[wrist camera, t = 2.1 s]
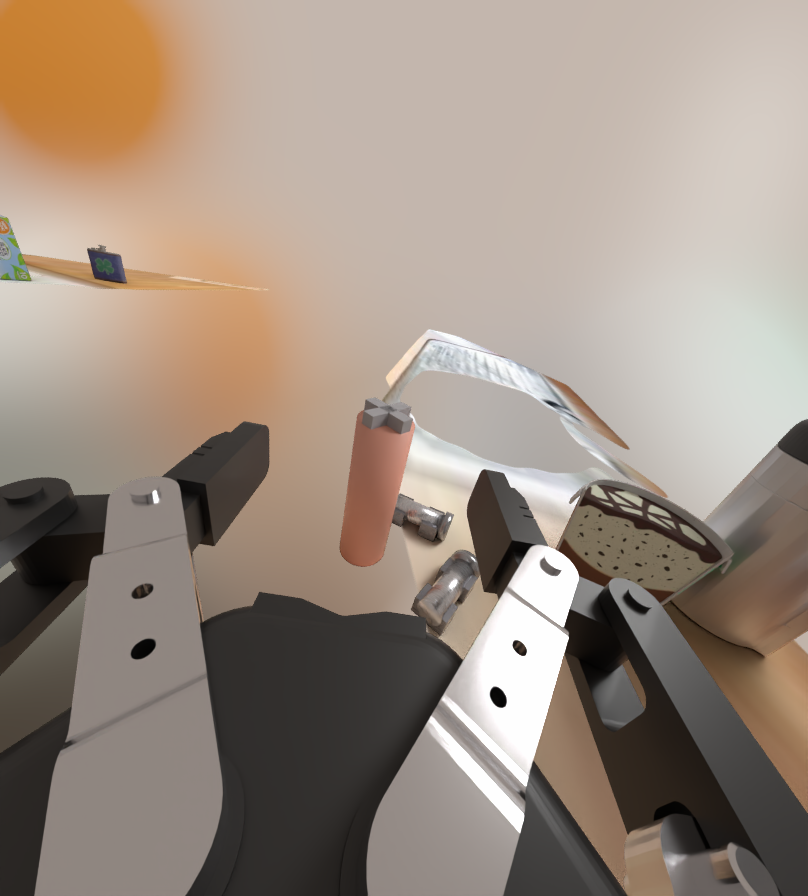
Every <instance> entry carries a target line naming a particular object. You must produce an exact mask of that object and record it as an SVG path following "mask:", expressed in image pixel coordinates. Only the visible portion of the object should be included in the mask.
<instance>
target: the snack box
mask: <svg viewBox="0 0 808 896" xmlns="http://www.w3.org/2000/svg"><path fill="white" fill-rule="evenodd" d="M0 279H9V280H27V281H31V278H30V275H29V272H28V270H27V267H26V264H25V262H24V259H23V257H22V254H21V252H20V249H19V246H18V243H17V241H16V238H15V236H14V233H13V230H12V228H11V225H10V223H9V220H8V218H7V217H4V216H1V215H0Z"/></svg>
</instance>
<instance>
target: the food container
mask: <svg viewBox="0 0 808 896" xmlns="http://www.w3.org/2000/svg"><path fill="white" fill-rule="evenodd" d="M579 496H580V498H579V500H578V502H577V504H576V507H575V509H574V511H573V513H572V515H571V517H570V519H569V521H568V524H567V526H566V528H565V530H564V532H563V534H562V536H561V539H560V541H559V543H558V545H557V547H556V549H555V550H557V551H558V552H560V553H561V554H563V555H564V556H565V557H566V558H567V559H568V560H570V562H571V563H572V564H573V565H574V567H575V569H576V571H577V573H578V576H580V577H582V578H584V579H587V580H589V581H591V582H594V583H596V584H598V585H601V586H603V587H605V586H606V585H607V584H608V583H609V582H610V581H611V580H612V579H614V578H623V579H627V580H629V581H632V582H634V583H636V584H638V585H639V586H641V587H642V588H644V589H645V590H647V591H648V592H649V593H650V594H651V595H652V596H653V597H655V598H656V600H657V601H658V602H659V603H660V604H661V606H663V605H664V604H666V603H667V602H669V601H670V600H671V599H673V598H674V597H676V596H677V595H679V594H680V593H681V592H683V591H684V590H686V589H687V588H688V587H690V586H691V585H693V584H694V583H696V582H697V581H698V580H700V579H701V578H703V577H704V576H706V575H707V574H708V573H710V572H711V571H713V570H714V569H715V568H717V567H718V568H719V570H720V572H721V573H723V574H724V573H725V572H726V570H727V568H728V567H729V565H730V564H731V562H732V560H731V557H732V556H733V555H734V553H733V551H732V550H731V548H730V547H729V546H728V545H727V543H726V542H725V541H724V540H723V539H722V538H721V537H720V536H719V535H718V534H717V533H716V532H715V531H713V530H712V529H711V528H710V527H709V526H707V525H706V524H705V523H704V522H702V521H701V520H700V519H698V518H697V517H695V516H694V515H692V514H691V513H689V512H688V511H686V510H685V509H683V508H681V507H680V506H678V505H676V504H675V503H673V502H671V501H669V500H667V499H665V498H663V497H661V496H659V495H657V494H655V493H653V492H650V491H648V490H646V489H643V488H640V487H638V486H635V485H632V484H628V483H625V482H620V481H616V480H610V479H597V480H593V481H591V482H589V483H588V484H586V485H584V486H583V487H582V488H581V489H580V490H579V491H578V492H577V493H576V494H575V495H573V497H572V498H571V499H570V502H569V503H570V504H571V503H572V502H573V501H574V500H575V499H576V498H577V497H579Z"/></svg>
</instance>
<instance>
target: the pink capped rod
mask: <svg viewBox="0 0 808 896" xmlns="http://www.w3.org/2000/svg"><path fill="white" fill-rule="evenodd" d="M410 410H411V407H410V406H408V405H406V404H404V403H402V402H401V403H396V404H392V405H388V404H386V403H384V402H382V401H381V400H379V399H377V398H371V399H366V401H365V409H364V410H363V411H361V412H360V413H359V414H358V416H357V421H356V429H355V436H354V444H353V452H352V459H351V466H350V473H349V481H348V489H347V496H346V503H345V511H344V518H343V526H342V534H341V541H340V552H341V555H342V557H343V558H344V559H345V560H346V561H348V562H349V563H351V564H353V565H356V566H361V567H365V566H371V565H373V564H375V563H377V562H378V561H379V560H381V558H382V557H383V555H384V551H385V547H386V543H387V539H388V535H389V531H390V527H391V523H392V519H393V515H394V510H395V506H396V502H397V498H398V494H399V490H400V486H401V482H402V478H403V474H404V470H405V466H406V461H407V457H408V453H409V449H410V445H411V441H412V437H413V433H414V429H415V424H414V422H413V419H412V418H410V417H409V415H410Z"/></svg>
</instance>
